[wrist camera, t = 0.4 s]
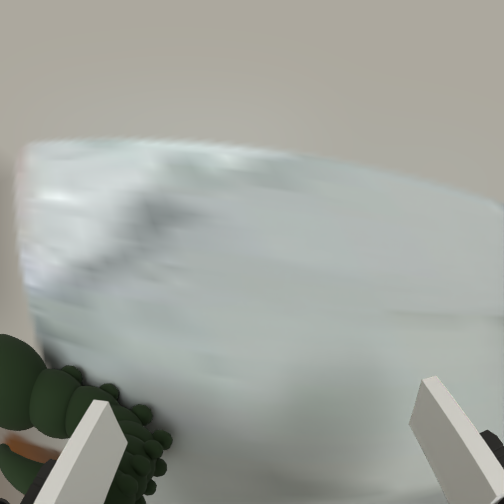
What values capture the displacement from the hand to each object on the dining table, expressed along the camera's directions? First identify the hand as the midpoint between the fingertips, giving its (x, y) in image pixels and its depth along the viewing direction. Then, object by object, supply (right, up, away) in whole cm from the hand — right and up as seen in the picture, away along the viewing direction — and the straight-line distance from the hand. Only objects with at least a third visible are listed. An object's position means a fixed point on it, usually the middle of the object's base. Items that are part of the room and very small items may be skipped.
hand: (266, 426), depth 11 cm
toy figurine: (-18, -8, +15) cm, 25 cm away
